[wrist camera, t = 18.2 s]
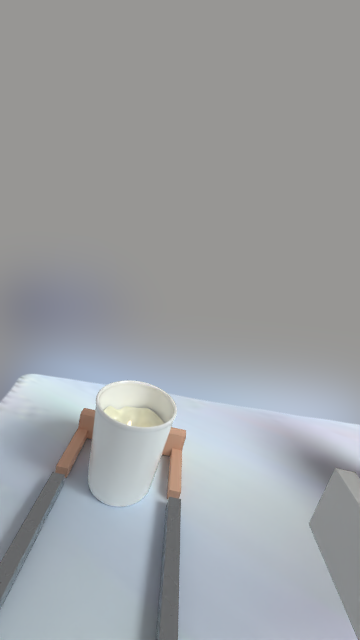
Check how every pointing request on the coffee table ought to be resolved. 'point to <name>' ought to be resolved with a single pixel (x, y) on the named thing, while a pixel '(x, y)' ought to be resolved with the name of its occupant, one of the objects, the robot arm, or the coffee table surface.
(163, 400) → the candle holder
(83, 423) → the orange u-shaped bracket
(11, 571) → the guide rails
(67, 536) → the coffee table surface
